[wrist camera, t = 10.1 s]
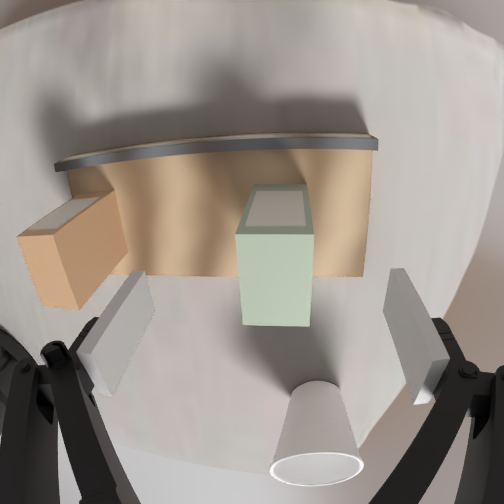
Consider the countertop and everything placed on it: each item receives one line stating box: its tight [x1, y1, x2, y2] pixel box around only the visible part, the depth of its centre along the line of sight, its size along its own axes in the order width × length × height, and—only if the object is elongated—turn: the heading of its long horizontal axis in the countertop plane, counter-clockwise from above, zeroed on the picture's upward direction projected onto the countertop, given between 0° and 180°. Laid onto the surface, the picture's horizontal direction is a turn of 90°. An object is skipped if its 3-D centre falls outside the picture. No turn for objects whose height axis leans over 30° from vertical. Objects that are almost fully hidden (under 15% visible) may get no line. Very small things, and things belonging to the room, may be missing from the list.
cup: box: [269, 381, 364, 486], centre depth 32 cm, size 10×10×11 cm
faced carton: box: [17, 190, 129, 310], centre depth 24 cm, size 4×6×9 cm, turn 4°
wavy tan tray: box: [54, 133, 378, 277], centre depth 26 cm, size 26×12×3 cm, turn 94°
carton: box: [235, 184, 314, 326], centre depth 22 cm, size 4×6×9 cm, turn 3°
